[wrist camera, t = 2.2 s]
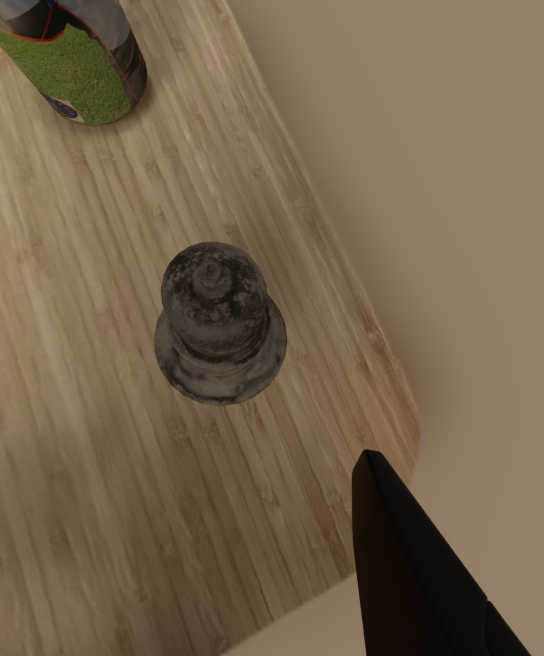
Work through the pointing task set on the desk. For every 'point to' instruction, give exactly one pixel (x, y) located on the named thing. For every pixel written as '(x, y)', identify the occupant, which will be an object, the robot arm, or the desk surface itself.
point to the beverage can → (76, 55)
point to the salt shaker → (218, 326)
